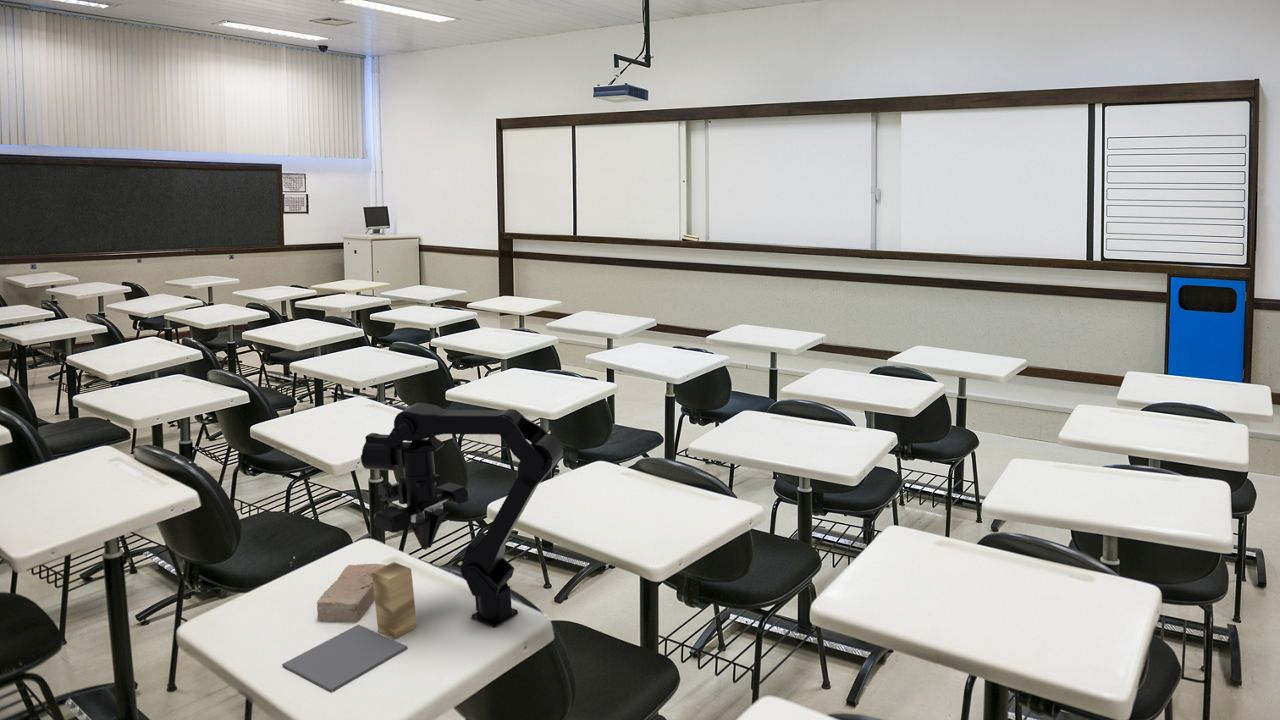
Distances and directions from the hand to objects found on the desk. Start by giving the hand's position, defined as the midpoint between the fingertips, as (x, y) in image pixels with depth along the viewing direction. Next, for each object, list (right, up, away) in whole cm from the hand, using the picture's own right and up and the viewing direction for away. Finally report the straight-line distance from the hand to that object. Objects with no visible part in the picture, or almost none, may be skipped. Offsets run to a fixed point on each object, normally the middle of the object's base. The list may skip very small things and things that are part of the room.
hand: (426, 548), depth 174 cm
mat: (-11, -17, -13) cm, 24 cm away
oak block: (-5, -14, -4) cm, 16 cm away
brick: (-16, -13, +8) cm, 22 cm away
